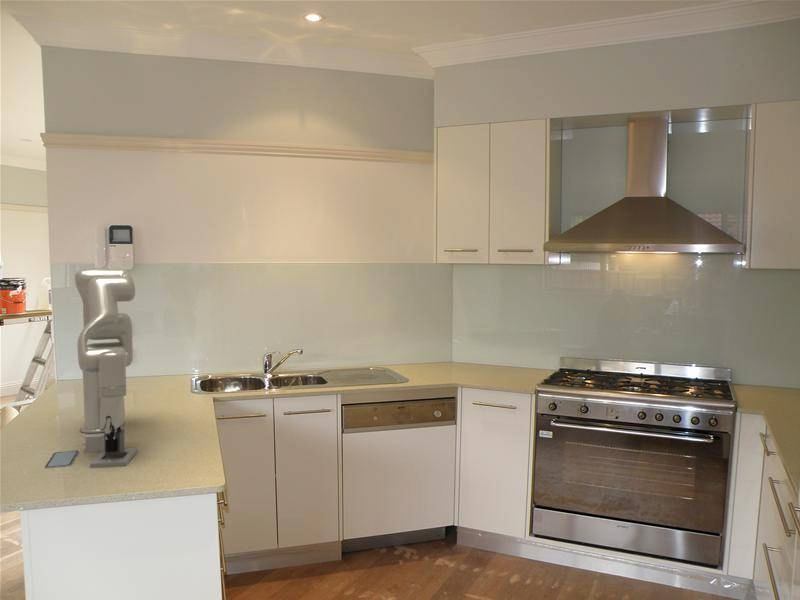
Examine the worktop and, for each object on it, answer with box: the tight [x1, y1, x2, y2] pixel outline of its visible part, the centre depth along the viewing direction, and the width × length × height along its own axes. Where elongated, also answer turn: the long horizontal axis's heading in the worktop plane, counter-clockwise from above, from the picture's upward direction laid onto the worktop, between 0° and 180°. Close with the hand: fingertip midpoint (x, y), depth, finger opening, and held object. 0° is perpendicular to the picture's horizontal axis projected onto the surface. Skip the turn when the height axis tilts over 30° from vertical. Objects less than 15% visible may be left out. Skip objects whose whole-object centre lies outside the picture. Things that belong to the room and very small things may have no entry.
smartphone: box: [44, 449, 80, 469], centre depth 192 cm, size 7×1×15 cm
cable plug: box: [81, 433, 105, 453], centre depth 202 cm, size 4×6×5 cm, turn 99°
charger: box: [103, 428, 126, 456], centre depth 192 cm, size 4×4×7 cm
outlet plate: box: [89, 447, 139, 468], centre depth 192 cm, size 14×10×1 cm
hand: (114, 448), depth 192 cm, fingers closed on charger, 4 cm apart
